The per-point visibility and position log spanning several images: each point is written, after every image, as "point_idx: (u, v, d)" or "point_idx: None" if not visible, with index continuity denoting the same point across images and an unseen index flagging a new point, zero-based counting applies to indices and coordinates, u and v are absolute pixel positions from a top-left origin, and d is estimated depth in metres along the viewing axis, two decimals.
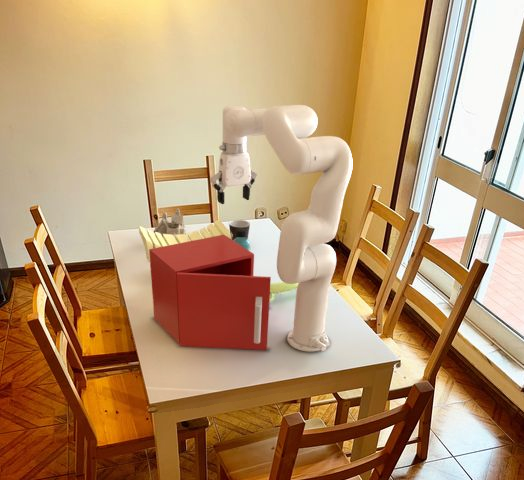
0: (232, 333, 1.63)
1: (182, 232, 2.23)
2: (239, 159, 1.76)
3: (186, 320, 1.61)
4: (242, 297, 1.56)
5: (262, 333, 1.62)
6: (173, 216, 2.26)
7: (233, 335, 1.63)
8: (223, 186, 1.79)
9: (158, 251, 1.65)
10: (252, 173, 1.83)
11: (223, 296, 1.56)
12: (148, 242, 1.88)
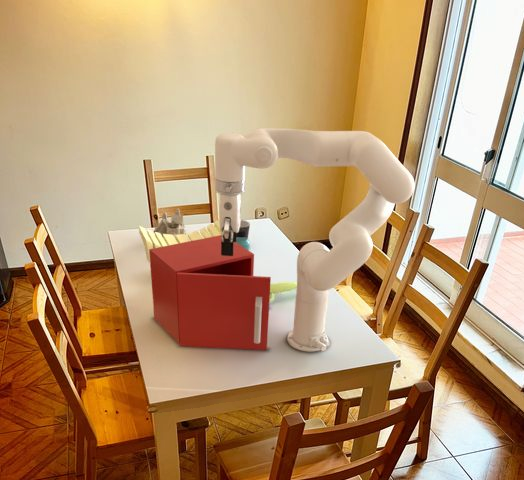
0: (232, 333, 1.63)
1: (182, 232, 2.23)
2: (240, 197, 1.43)
3: (186, 320, 1.61)
4: (242, 297, 1.56)
5: (262, 333, 1.62)
6: (173, 216, 2.26)
7: (233, 335, 1.63)
8: (232, 234, 1.43)
9: (158, 251, 1.65)
10: None
11: (223, 296, 1.56)
12: (148, 242, 1.88)
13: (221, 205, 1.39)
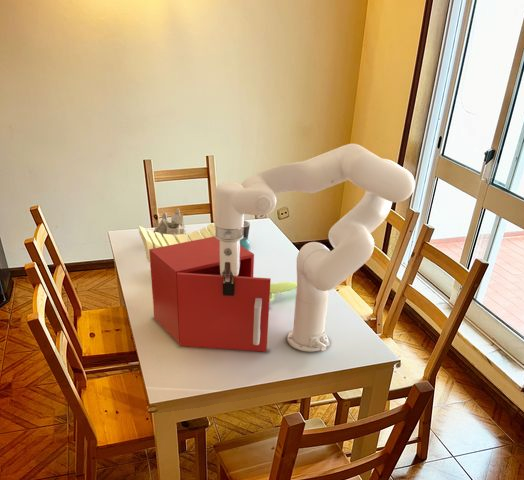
0: (232, 334, 1.62)
1: (182, 232, 2.23)
2: (239, 242, 1.48)
3: (186, 320, 1.61)
4: (241, 298, 1.56)
5: (262, 335, 1.62)
6: (173, 216, 2.26)
7: (233, 336, 1.63)
8: (233, 277, 1.51)
9: (158, 251, 1.65)
10: None
11: (223, 297, 1.56)
12: (148, 242, 1.88)
13: (221, 251, 1.44)
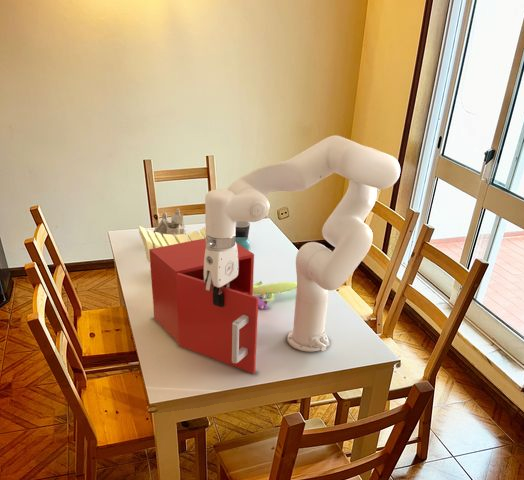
0: (222, 346, 1.56)
1: (182, 232, 2.23)
2: (230, 253, 1.41)
3: (184, 322, 1.60)
4: (230, 312, 1.49)
5: (249, 355, 1.53)
6: (173, 216, 2.26)
7: (223, 349, 1.57)
8: (220, 288, 1.45)
9: (158, 251, 1.65)
10: None
11: (214, 306, 1.51)
12: (148, 242, 1.88)
13: (204, 258, 1.40)
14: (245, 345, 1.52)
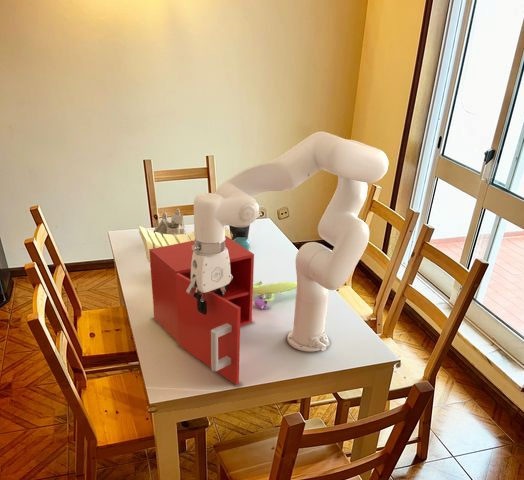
0: None
1: (182, 232, 2.23)
2: (217, 259, 1.37)
3: (182, 322, 1.59)
4: (217, 319, 1.45)
5: (232, 365, 1.48)
6: (173, 216, 2.26)
7: None
8: (203, 294, 1.41)
9: (158, 251, 1.65)
10: None
11: None
12: (148, 242, 1.88)
13: None
14: (229, 354, 1.47)
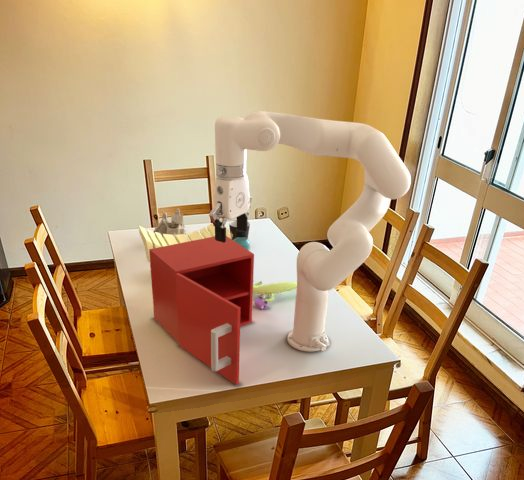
0: None
1: (182, 232, 2.23)
2: (240, 183, 1.38)
3: (182, 322, 1.59)
4: (217, 319, 1.45)
5: (232, 365, 1.48)
6: (173, 216, 2.26)
7: None
8: (224, 220, 1.40)
9: (158, 251, 1.65)
10: None
11: (205, 311, 1.49)
12: (148, 242, 1.88)
13: (215, 188, 1.37)
14: (229, 354, 1.47)
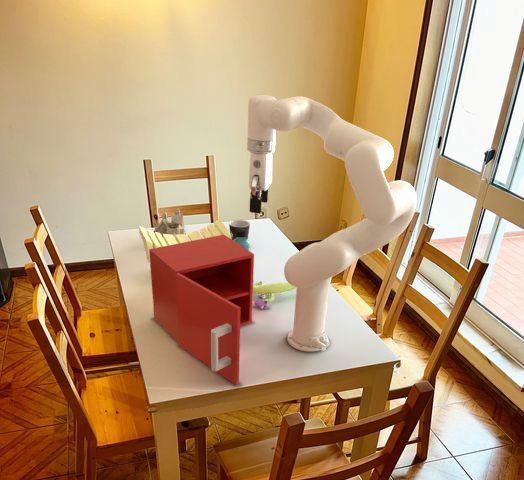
0: None
1: (182, 232, 2.23)
2: (270, 157, 1.51)
3: (182, 322, 1.59)
4: (217, 319, 1.45)
5: (232, 365, 1.48)
6: (173, 216, 2.26)
7: None
8: (260, 192, 1.52)
9: (158, 251, 1.65)
10: None
11: (205, 311, 1.49)
12: (148, 242, 1.88)
13: (251, 163, 1.48)
14: (229, 354, 1.47)
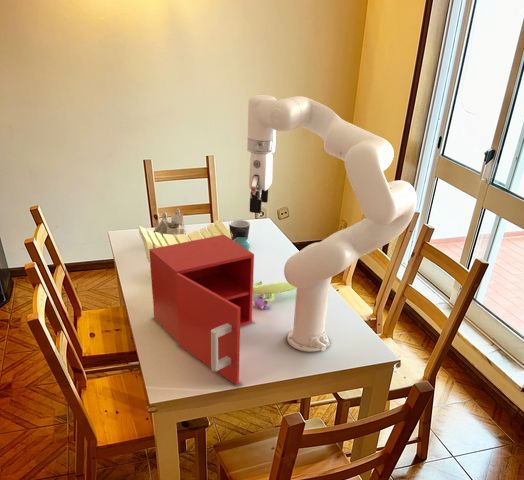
0: None
1: (182, 232, 2.23)
2: (270, 157, 1.51)
3: (182, 322, 1.59)
4: (217, 319, 1.45)
5: (232, 365, 1.48)
6: (173, 216, 2.26)
7: None
8: (260, 192, 1.52)
9: (158, 251, 1.65)
10: None
11: (205, 311, 1.49)
12: (148, 242, 1.88)
13: (251, 163, 1.48)
14: (229, 354, 1.47)
